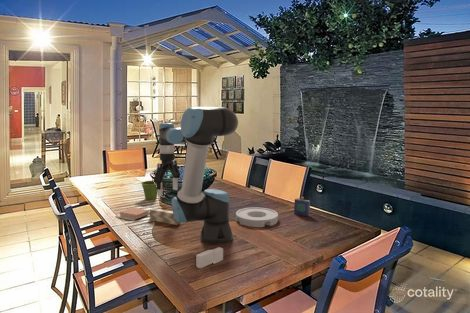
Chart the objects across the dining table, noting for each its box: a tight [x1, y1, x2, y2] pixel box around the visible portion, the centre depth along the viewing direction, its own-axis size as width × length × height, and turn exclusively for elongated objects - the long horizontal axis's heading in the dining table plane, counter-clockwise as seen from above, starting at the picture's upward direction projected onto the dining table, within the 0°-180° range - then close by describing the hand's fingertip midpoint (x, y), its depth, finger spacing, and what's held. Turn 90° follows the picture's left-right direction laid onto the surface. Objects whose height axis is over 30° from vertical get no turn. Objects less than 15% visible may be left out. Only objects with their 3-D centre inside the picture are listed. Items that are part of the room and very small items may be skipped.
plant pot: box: [140, 180, 158, 201], centre depth 233 cm, size 12×12×11 cm
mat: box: [115, 210, 150, 221], centre depth 201 cm, size 13×16×1 cm
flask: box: [293, 196, 311, 217], centre depth 203 cm, size 9×3×11 cm, turn 61°
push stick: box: [149, 207, 181, 226], centre depth 189 cm, size 18×3×6 cm, turn 65°
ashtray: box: [235, 206, 279, 228], centre depth 194 cm, size 23×23×4 cm
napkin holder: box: [195, 246, 224, 269], centre depth 140 cm, size 15×11×6 cm
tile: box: [119, 207, 150, 220], centre depth 198 cm, size 2×10×12 cm
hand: (167, 192), depth 186 cm, fingers open, 13 cm apart
